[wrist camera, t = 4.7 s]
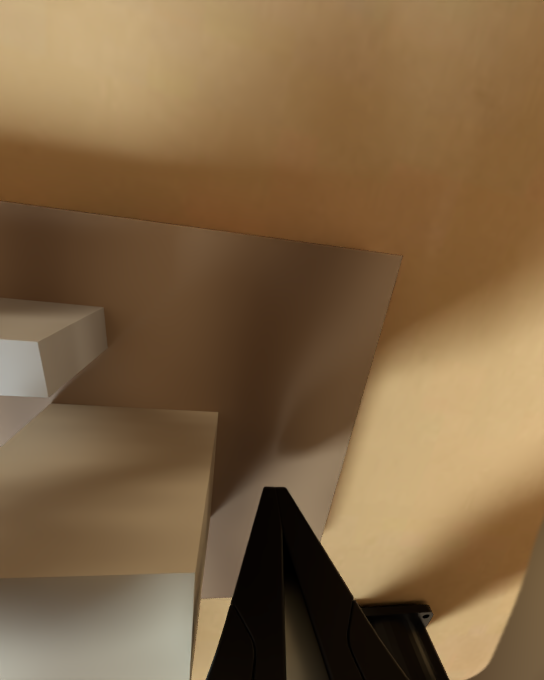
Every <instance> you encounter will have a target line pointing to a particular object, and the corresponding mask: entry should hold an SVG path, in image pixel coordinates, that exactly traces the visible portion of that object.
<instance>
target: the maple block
mask: <svg viewBox="0 0 544 680" xmlns="http://www.w3.org/2000/svg"><path fill="white" fill-rule="evenodd" d="M217 422H218V412H206V411H187V410H168V409H148V408H129V407H110V406H90V405H71V404H52V403H50V404H49V405H48V406H47V407H46V408H45V409H44V410H42V411H41V412H40V413H39V414H38V415H37V416H36V417H34V418H33V419H32V420H31V421H30V422H29V423H28V424H26V425H25V426H24V427H23V428H22V429H21V430H20V431H19V432H17V433H16V434H15V435H14V436H13V437H12V438H11V439H9V440H8V441H7V442H6V443H5V444H4V445H3V446H1V447H0V680H191V676H192V667H193V659H194V651H195V642H196V634H197V625H198V617H199V609H200V600H201V592H202V583H203V575H204V566H205V558H206V550H207V541H208V533H209V524H210V515H211V502H212V489H213V475H214V462H215V449H216V436H217Z"/></svg>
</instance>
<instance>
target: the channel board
mask: <svg viewBox="0 0 544 680" xmlns="http://www.w3.org/2000/svg"><path fill="white" fill-rule="evenodd" d="M402 257H403V256H401V255H394V254H387V253H380V252H373V251H365V250H358V249H351V248H343V247H336V246H329V245H321V244H314V243H307V242H299V241H292V240H284V239H277V238H270V237H262V236H255V235H248V234H240V233H233V232H226V231H218V230H211V229H204V228H196V227H189V226H182V225H174V224H167V223H160V222H152V221H145V220H137V219H130V218H123V217H115V216H108V215H101V214H93V213H86V212H79V211H71V210H64V209H57V208H49V207H42V206H35V205H27V204H20V203H13V202H5V201H0V447H1V446H3V445H4V444H5V443H6V442H7V441H8V440H9V439H11V438H12V437H13V436H14V435H15V434H16V433H17V432H19V431H20V430H21V429H22V428H23V427H24V426H25V425H26V424H28V423H29V422H30V421H31V420H32V419H33V418H34V417H36V416H37V415H38V414H39V413H40V412H41V411H42V410H44V409H45V408H46V407H47V406H48V405H49V404H50V403H52V404H71V405H90V406H110V407H129V408H148V409H168V410H187V411H206V412H218V422H217V436H216V449H215V462H214V475H213V489H212V502H211V515H210V524H209V533H208V541H207V550H206V558H205V566H204V575H203V583H202V592H201V599H207V598H229V597H233V593H234V590H235V586H236V583H237V579H238V576H239V572H240V568H241V565H242V561H243V558H244V554H245V551H246V547H247V544H248V540H249V537H250V533H251V529H252V526H253V522H254V519H255V515H256V512H257V508H258V505H259V501H260V498H261V494H262V490H263V488H264V487H265V486H268V487H286V488H287V489H288V491H289V493H290V494H291V496H292V498H293V499H294V501H295V502H296V504H297V506H298V507H299V509H300V511H301V512H302V514H303V515H304V517H305V519H306V520H307V522H308V524H309V525H310V527H311V528H312V530H313V532H314V533H315V535H316V537H317V538H318V540H319V541H321V538H322V534H323V531H324V527H325V524H326V520H327V517H328V514H329V510H330V507H331V503H332V500H333V496H334V493H335V489H336V486H337V482H338V479H339V475H340V472H341V469H342V465H343V462H344V458H345V455H346V451H347V448H348V444H349V441H350V437H351V434H352V430H353V427H354V424H355V420H356V417H357V413H358V410H359V406H360V403H361V399H362V396H363V392H364V389H365V385H366V382H367V379H368V375H369V372H370V368H371V365H372V361H373V358H374V354H375V351H376V347H377V344H378V340H379V337H380V334H381V330H382V327H383V323H384V320H385V316H386V313H387V309H388V306H389V302H390V299H391V295H392V292H393V289H394V285H395V282H396V278H397V275H398V271H399V268H400V264H401V261H402Z"/></svg>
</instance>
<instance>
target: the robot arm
mask: <svg viewBox="0 0 544 680" xmlns="http://www.w3.org/2000/svg"><path fill="white" fill-rule="evenodd" d="M353 599H354V597H353V595H352V594H351V592H350V590H349V589H348V587H347V585H346V584H345V582H344V581H343V579H342V577H341V576H340V574H339V572H338V571H337V569H336V567H335V566H334V564H333V563H332V561H331V559H330V558H329V556H328V554H327V553H326V551H325V550H324V548H323V546H322V545H321V543H320V541H319V540H318V538H317V537H316V535H315V533H314V532H313V530H312V528H311V527H310V525H309V524H308V522H307V520H306V519H305V517H304V515H303V514H302V512H301V511H300V509H299V507H298V506H297V504H296V502H295V501H294V499H293V498H292V496H291V494H290V493H289V491H288V489H287V488H286V487H268V486H265V487H264V488H263V490H262V494H261V498H260V501H259V505H258V508H257V512H256V515H255V519H254V522H253V526H252V529H251V533H250V537H249V540H248V544H247V547H246V551H245V554H244V558H243V561H242V565H241V568H240V572H239V576H238V579H237V583H236V586H235V590H234V593H233V597H232V600H231V605H230V607H229V610H228V614H227V617H226V621H225V625H224V628H223V631H222V634H221V637H220V641H219V644H218V647H217V650H216V653H215V656H214V659H213V661H212V664H211V667H210V670H209V672H208V675H207V678H206V680H449V678H448V676H447V673H446V671H445V669H444V667H443V665H442V663H441V660H440V658H439V656H438V654H437V652H436V650H435V647H434V645H433V643H432V641H431V639H430V636H429V634H428V632H427V630H426V626H427V625H428V623H429V621H430V620H431V618H432V617H433V613H432V611H431V609H430V607H429V605H407V606H389V607H371V608H360V606H359V605H358V603H357V601H356V600H353Z"/></svg>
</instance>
